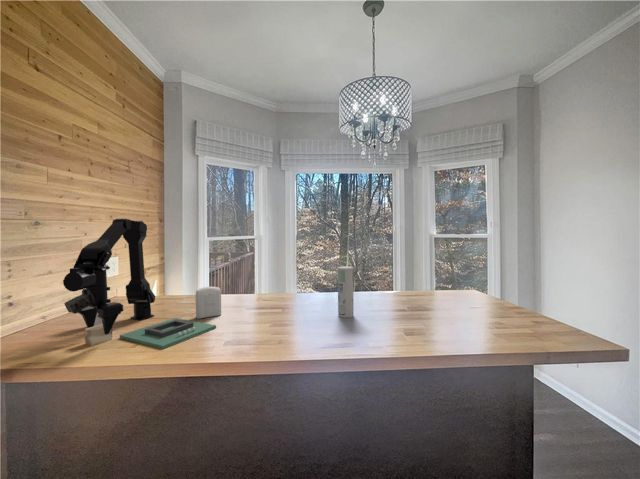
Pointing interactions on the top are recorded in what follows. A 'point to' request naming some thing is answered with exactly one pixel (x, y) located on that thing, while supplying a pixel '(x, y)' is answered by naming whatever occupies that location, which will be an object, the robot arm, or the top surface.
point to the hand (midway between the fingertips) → (98, 332)
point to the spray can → (345, 291)
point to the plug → (96, 335)
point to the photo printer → (208, 302)
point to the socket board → (168, 332)
